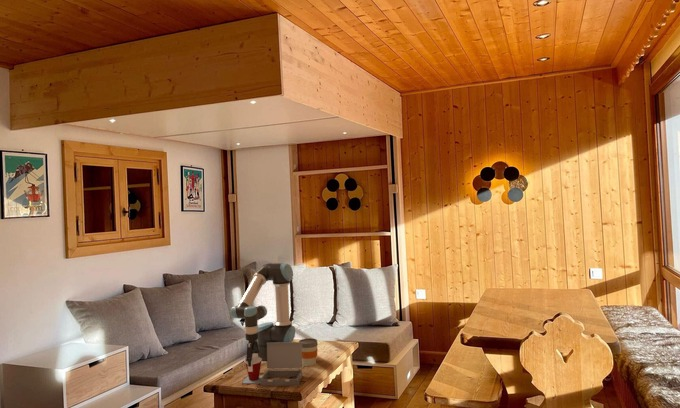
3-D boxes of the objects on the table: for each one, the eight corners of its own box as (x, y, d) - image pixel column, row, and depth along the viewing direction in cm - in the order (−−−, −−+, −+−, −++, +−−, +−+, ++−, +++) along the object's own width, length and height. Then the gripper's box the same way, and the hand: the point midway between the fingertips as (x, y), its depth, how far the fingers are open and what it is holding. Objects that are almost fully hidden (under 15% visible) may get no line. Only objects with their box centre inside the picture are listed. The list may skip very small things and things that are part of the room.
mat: (247, 376, 330) (247, 376, 330) (265, 376, 329) (265, 375, 329) (242, 384, 318) (242, 383, 318) (260, 383, 317) (260, 382, 317)
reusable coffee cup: (316, 367, 343) (315, 343, 343) (297, 366, 346) (296, 343, 346) (320, 360, 356) (319, 338, 355) (302, 360, 358) (301, 338, 358)
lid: (266, 370, 329) (267, 369, 331) (301, 370, 327) (302, 369, 329) (266, 342, 332) (267, 342, 333) (301, 342, 329) (301, 342, 331)
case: (267, 376, 330) (266, 370, 330) (302, 375, 328) (302, 370, 328) (260, 386, 313) (260, 380, 313) (297, 386, 311) (297, 380, 311)
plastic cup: (241, 381, 320) (240, 361, 320) (249, 375, 331) (248, 356, 330) (258, 382, 317) (257, 362, 317) (265, 376, 328) (264, 357, 328)
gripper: (251, 327, 336) (252, 361, 336) (239, 338, 311) (241, 374, 312) (262, 327, 335) (264, 361, 336) (252, 338, 310) (254, 374, 311)
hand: (253, 367), depth 324 cm, fingers open, 13 cm apart
